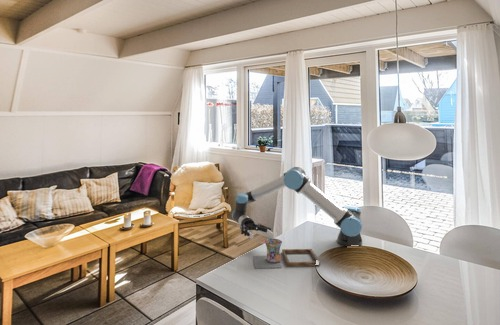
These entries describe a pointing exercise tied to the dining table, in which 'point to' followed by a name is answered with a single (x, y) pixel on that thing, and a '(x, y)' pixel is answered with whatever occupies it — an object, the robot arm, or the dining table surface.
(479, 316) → the dining table surface
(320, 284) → the dining table surface
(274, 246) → the mug
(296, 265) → the frame
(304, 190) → the robot arm
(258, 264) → the mat
